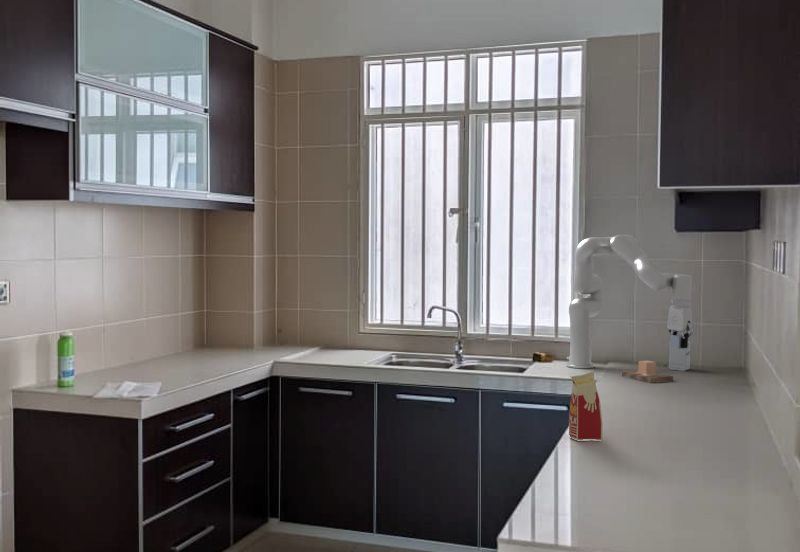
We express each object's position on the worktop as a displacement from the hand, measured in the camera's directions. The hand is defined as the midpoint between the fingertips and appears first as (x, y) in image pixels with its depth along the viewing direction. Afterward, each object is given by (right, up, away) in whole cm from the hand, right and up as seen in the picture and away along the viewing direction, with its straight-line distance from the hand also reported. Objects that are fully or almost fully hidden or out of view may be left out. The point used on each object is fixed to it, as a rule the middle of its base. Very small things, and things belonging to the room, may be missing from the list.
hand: (679, 346), depth 342 cm
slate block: (0, -1, 0) cm, 1 cm away
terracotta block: (-13, -12, +1) cm, 17 cm away
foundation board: (-13, -14, +1) cm, 19 cm away
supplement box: (+9, -13, +26) cm, 30 cm away
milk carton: (-63, -19, -101) cm, 121 cm away
